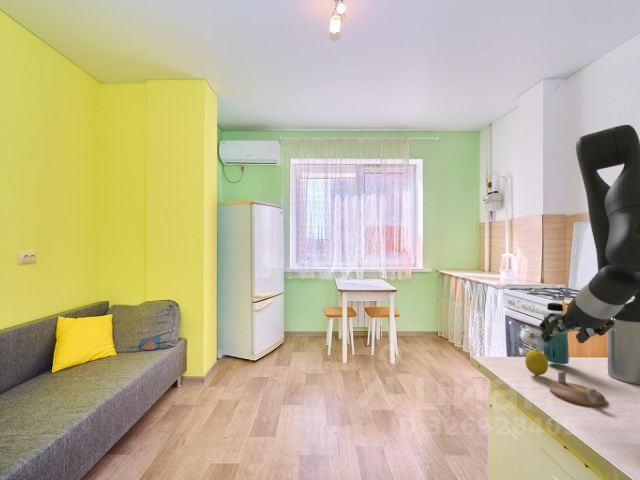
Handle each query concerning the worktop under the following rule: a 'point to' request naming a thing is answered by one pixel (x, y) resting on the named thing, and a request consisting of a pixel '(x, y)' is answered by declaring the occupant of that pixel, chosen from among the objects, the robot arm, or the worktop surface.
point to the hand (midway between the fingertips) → (561, 339)
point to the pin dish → (576, 392)
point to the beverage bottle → (557, 340)
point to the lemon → (536, 362)
